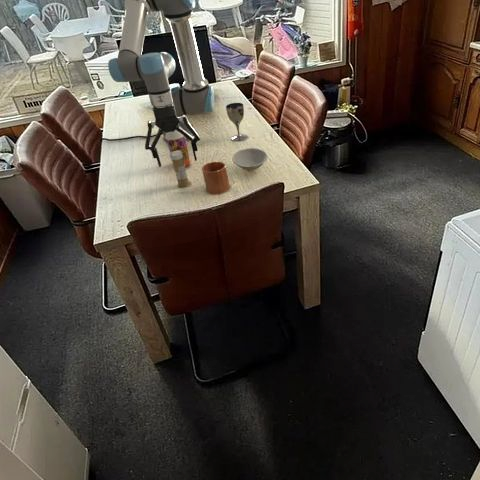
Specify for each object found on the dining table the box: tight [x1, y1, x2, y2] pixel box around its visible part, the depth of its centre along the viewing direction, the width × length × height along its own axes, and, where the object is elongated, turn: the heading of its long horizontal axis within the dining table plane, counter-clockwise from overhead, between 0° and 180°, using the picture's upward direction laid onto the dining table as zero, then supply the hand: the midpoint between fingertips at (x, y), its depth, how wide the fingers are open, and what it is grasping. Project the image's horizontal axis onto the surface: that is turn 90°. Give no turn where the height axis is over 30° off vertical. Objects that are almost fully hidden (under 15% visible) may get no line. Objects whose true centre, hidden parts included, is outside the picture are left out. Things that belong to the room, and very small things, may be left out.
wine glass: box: [225, 102, 247, 142], centre depth 180 cm, size 8×8×15 cm
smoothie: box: [165, 130, 191, 169], centre depth 160 cm, size 8×8×20 cm
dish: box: [231, 147, 268, 171], centre depth 158 cm, size 18×14×5 cm
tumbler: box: [201, 161, 230, 195], centre depth 146 cm, size 9×9×9 cm
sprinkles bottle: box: [169, 151, 190, 188], centre depth 149 cm, size 5×5×13 cm
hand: (178, 162), depth 147 cm, fingers open, 13 cm apart
